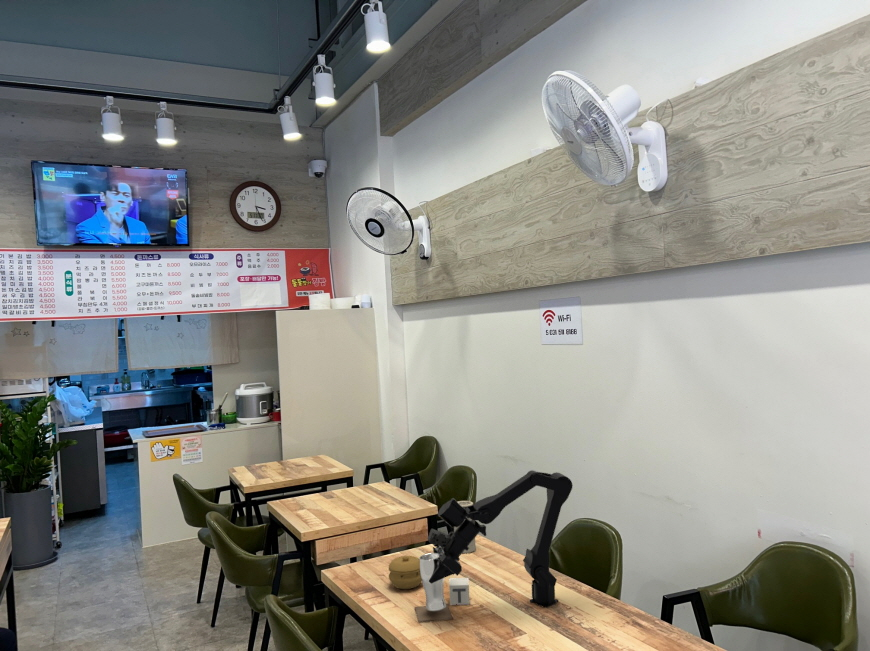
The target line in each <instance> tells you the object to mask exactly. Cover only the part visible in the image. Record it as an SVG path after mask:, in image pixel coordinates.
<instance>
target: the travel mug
mask: <svg viewBox="0 0 870 651" xmlns="http://www.w3.org/2000/svg"><path fill="white" fill-rule="evenodd" d="M457 502H458V503H459V504H460V505H461V506H462V507H467V506H471V505H474V502H472V501H470V500H459V501H457ZM466 517H467V518H468V519H469V520H472V519H470V518H469V517H468V516H466ZM457 528H458V527H453V533H454V532H455V531H456V529H457ZM468 547H469V549H468V550H467V551H466V550H464V551H463V553H462V554H470V553H469V552H471V553H474V552H475V551H476V537H475V538H474V540H473V541H472V542H471V543H470V544H469V545H468Z"/></svg>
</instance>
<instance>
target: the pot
mask: <svg viewBox="0 0 870 651" xmlns="http://www.w3.org/2000/svg"><path fill="white" fill-rule="evenodd" d="M388 571H389V573H388V579H389V581H390V582H391V584H392V585H393V586H394V587H395V588H398V589H401V590H409V589H410V590H411V589H414V588H416V587H418V586H419V585H420V584H422V580H421V575H420V563H419V558H418V557H417V556H414V555H413V556H412V555H402V556H401V555H400V556H397V557H395V558H394V559H393V560H391V561H390V563H389V564H388Z"/></svg>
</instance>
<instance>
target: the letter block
mask: <svg viewBox="0 0 870 651" xmlns="http://www.w3.org/2000/svg"><path fill="white" fill-rule="evenodd" d="M469 578H470V577H453V578H452V577H450V578H449V582H448V584H449V585H448V586H449V589H448V592H449V593H448V594H449V606H460V605H461V606H463V605H470V583H469V582H470V581H469ZM456 604H457V605H456Z"/></svg>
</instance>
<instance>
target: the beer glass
mask: <svg viewBox="0 0 870 651" xmlns="http://www.w3.org/2000/svg"><path fill="white" fill-rule="evenodd" d="M438 558H439V559H440V560H441V554H439V553H433V552H429V553H425V554H421V555H420V556H419V563H420V575H421V580H422V581H421V584H422V587H423V590H424V593H425V600H426V601H425V606H426V610H428V611H432V612H435V611H440V610H443V609H445V608H446V604H447V603H446V602H447V601H446V599H445V595H444V594H445V593H444V584H445V583H444V581H445V578H443V579H440V580H438V581H436V582H434V583H432V584H431V583H430V582H429V579H430V578H431V576H432V574H433V573H434V571H435V570H436V568H437V567H438Z"/></svg>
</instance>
